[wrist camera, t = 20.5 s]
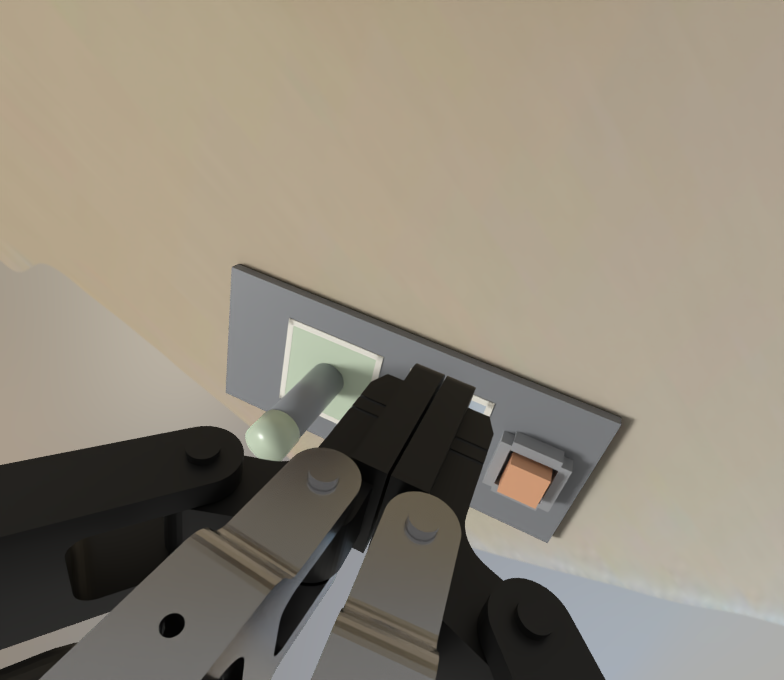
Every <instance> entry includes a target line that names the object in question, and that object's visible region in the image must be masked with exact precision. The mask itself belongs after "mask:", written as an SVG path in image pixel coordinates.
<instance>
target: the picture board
mask: <svg viewBox="0 0 784 680" xmlns="http://www.w3.org/2000/svg"><path fill="white" fill-rule="evenodd" d="M320 363H327V364H330V365H332V366H334V367H335V368H336V369H337V370H338V371H339V372H340V373H341V375H342V377H343V381H344V385H343V388H342V390H341V391H340V392H339V393H338V395H337V396H336V397H335V398H334V399H333V400H332V401H331V403H330V404H329V405H328V406H327V407H326V408H325V409H324V411H323V412H322V413H321V414H320V415H319V416H318V418H317V419H316V420H315V421H314V422H313V423H312V424H311V426H310V427H309V428H308V429H307V431H309V432H311V433H313V434H315V435H318V436H320V437H322V438H324V439H326V437H327V436H328V435H329V434H330V432H331V431H332V430H333V429H334V427H335V426H336V425H337V424H338V422H339V421H340V420H341V419H342V417H343V416H344V415H345V414H346V412H347V411H348V410H349V409H350V407H352V405H353V404H354V402H355V401H356V400H357V399H358V397H360V395H361V394H362V392H363V391H364V390H365V388H366V387H367V386H368V385H369V383H370V382H371V381H373V380H375V379H378V378H380V377H382V376H384V375H386V374H390V375H392V376H394V377H397V378H399V379H401V380H405V378H406V377H407V375H408V374H409V372H410V371H411V369H412V368H413V367H414V365H415V364H416V363H418V364H420V365H423V366H425V367H428V368H430V369H432V370H435V371H437V372H440V373H442V374H444V375H445V378H446V377H447V376H450V377H452V378H454V379H457V380H459V381H462V382H464V383H467V384H469V385H471V386H474V387H476V390H475V392H474V395H473V398H472V400H471V403H470V405H469V408H470V409H473V410H475V411H477V412H480V413H482V414H484V415H487V416H489V417H490V421H491V425H492V429H493V433H494V435H493V438H492V441H491V444H490V447H489V450H488V452H487V456H486V459H485V462H484V464H483V468H482V471H481V474H480V476H479V479H478V482H477V485H476V488H475V491H474V494H473V497H472V500H471V503H470V506H469V507H471V508H474V509H476V510H478V511H480V512H482V513H484V514H486V515H488V516H491V517H493V518H495V519H497V520H499V521H501V522H503V523H506V524H508V525H510V526H512V527H514V528H516V529H518V530H521V531H523V532H525V533H527V534H529V535H531V536H533V537H535V538H538V539H540V540H542V541H544V542H546V543H548V541H549V540H550V538H551V537H552V535H553V533H554V532H555V530H556V529H557V527H558V525H559V524H560V522H561V521H562V519H563V517H564V516H565V514H566V513H567V511H568V509H569V508H570V506H571V505H572V503H573V501H574V500H575V498H576V496H577V495H578V493H579V492H580V490H581V488H582V487H583V485H584V484H585V482H586V480H587V479H588V477H589V476H590V474H591V472H592V471H593V469H594V468H595V466H596V464H597V463H598V461H599V460H600V458H601V456H602V455H603V453H604V452H605V450H606V448H607V447H608V445H609V444H610V442H611V440H612V439H613V437H614V436H615V434H616V432H617V431H618V429H619V428H620V426H621V417H618V416H616V415H613V414H611V413H608V412H606V411H603V410H601V409H598V408H596V407H593V406H591V405H588V404H586V403H583V402H581V401H578V400H576V399H573V398H571V397H568V396H566V395H563V394H561V393H558V392H556V391H553V390H551V389H548V388H546V387H543V386H541V385H538V384H536V383H533V382H531V381H529V380H526V379H524V378H521V377H519V376H516V375H514V374H511V373H509V372H506V371H504V370H501V369H499V368H496V367H494V366H491V365H489V364H486V363H484V362H481V361H479V360H476V359H474V358H471V357H469V356H466V355H464V354H461V353H459V352H456V351H454V350H451V349H449V348H446V347H444V346H441V345H439V344H436V343H434V342H431V341H429V340H426V339H424V338H421V337H419V336H416V335H414V334H411V333H409V332H406V331H404V330H401V329H399V328H396V327H394V326H391V325H389V324H386V323H384V322H382V321H379V320H377V319H374V318H372V317H369V316H367V315H364V314H362V313H359V312H357V311H354V310H352V309H349V308H347V307H344V306H342V305H339V304H337V303H334V302H332V301H329V300H327V299H324V298H322V297H319V296H317V295H314V294H312V293H309V292H307V291H304V290H302V289H299V288H297V287H294V286H292V285H289V284H287V283H284V282H282V281H279V280H277V279H274V278H272V277H269V276H267V275H264V274H262V273H259V272H257V271H254V270H252V269H249V268H247V267H244V266H242V265H239V264H237V265H235V266H233V267H232V274H231V295H230V315H229V336H228V357H227V377H226V393H228V394H230V395H232V396H234V397H236V398H239V399H241V400H243V401H245V402H247V403H249V404H251V405H253V406H256V407H258V408H260V409H262V410H264V411H266V412H267V411H269V410H270V409H271V408H272V407H273V406H274V405H275V404H276V403H277V402H278V401H279V400H280V399H282V398H283V397H284V396H285V395H286V394H287V393H288V392H289V391H290V390H291V389H292V388H293V387H294V386H295V385H296V384H297V383H298V382H299V381H300V380H301V379H302V378H303V377H304V376H305V375H306V374H307V373H308V372H309V371H310V370H311V369H313V368H314V367H315V366H316V365H317V364H320ZM445 378H444V380H445ZM512 452H516V453H518V454H520V455H523V456H525V457H527V458H529V459H532V460H534V461H536V462H539V463H541V464H543V465H546V466H548V467H550V468H552V469H553V471H552V477H551V482H550V484H549V486H548V488H547V489H546V491H545V493H544V495H543V496H542V498H541V500H540V502H539V503H538V505H537V507H536V509H534V508H532V507H530V506H528V505H526V504H523V503H521V502H519V501H517V500H515V499H512V498H510V497H508V496H506V495H504V494H501V493H499V492H497V489H498V486H499V482H500V479H501V475H502V473H503V471H504V469H505V466H506V464H507V462H508V460H509V458H510V456H511V454H512Z"/></svg>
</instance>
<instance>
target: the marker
mask: <svg viewBox="0 0 784 680" xmlns="http://www.w3.org/2000/svg"><path fill="white" fill-rule="evenodd" d="M343 385H344V381H343V377H342V375H341V373H340V372H339V371H338V370H337V369H336V368H335V367H334V366H332V365H330V364H327V363H320V364H317V365H316V366H315V367H314V368H313V369H311V370H310V371H309V372H308V373H307V374H306V375H305V376H304V377H303V378H302V379H301V380H300V381H299V382H298V383H297V384H296V385H295V386H294V387H293V388H292V389H291V390H290V391H289V392H288V393H287V394H286V395H285V396H284V397H283V398H282V399H280V400H279V401H278V402H277V403H276V404H275V405H274V406H273V407H272V408H271V409H270V410H269V411H267V412H265V413H264V414H263V415H262V416H261V417H260V418H259V419H258V420H257V421H256V422H255V423H254V424H253V425H252V426H251V427H250V428H249V429H248V430H247V432H246V437H245V438H246V443H247V445H248V447H249V449H250V450H251V451H252V453H253V454H254V455H255V456H257V457H258V458H260V459H266V460H271V461H282V460H283V458H284V457H285V456H286V455H287V454H288V453H289V452H290V450H291V449H292V448H293V447H294V446H295V445H296V443H297V442H298V441H299V438H300V437H301V436H302V435H303V434H304V432H305V431H306V430H307V429H308V428H309V427H310V426H311V424H312V423H313V422H314V421H315V420H316V419H317V418H318V416H319V415H320V414H321V413H322V412H323V411H324V409H325V408H326V407H327V406H328V405H329V404H330V403H331V401H332V400H333V399H334V398H335V397H336V396H337V395H338V393H339V392H340V391H341V390H342V388H343Z"/></svg>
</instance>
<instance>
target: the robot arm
mask: <svg viewBox="0 0 784 680" xmlns="http://www.w3.org/2000/svg"><path fill="white" fill-rule="evenodd" d="M444 378H445V375H444V374H442V373H440V372H437V371H435V370H432V369H430V368H428V367H425V366H423V365H420V364H418V363H416V364H415V365H414V367H413V368H412V369H411V371H410V372H409V374H408V375H407V377H406V378H405V380H401V379H399V378H397V377H394V376H392V375H390V374H386V375H384V376H382V377H380V378H378V379H375V380H373V381H371V382H370V383H369V385H368V386H367V387H366V388H365V390H364V391H363V392H362V394H361V395H360V397H358V399H357V400H356V401H355V402H354V404H353V405H352V407H350V409H349V410H348V411H347V412H346V414H345V415H344V416H343V417H342V419H341V420H340V421H339V422H338V424H337V425H336V426H335V427H334V429H333V430H332V431H331V432H330V434H329V435H328V436H327V437H326V439H325V440H324V441H323V442H322V444H321V445H320V446H319V447H318V448H311V449H307V450H304V451H302V452H300V453H298V454H297V455H295V456H294V457H293V458H292V459H291V460H290V461H271V460H266V459H260V458H254V457H249V456H244V450H243V446H242V444H241V442H240V440H239V439H238V438H237V437H236V436H235V435H234V434H232V433H231V432H229V431H227V430H225V429H222V428H218V427H212V426H200V427H194V428H188V429H183V430H178V431H173V432H168V433H162V434H157V435H152V436H147V437H142V438H137V439H132V440H127V441H121V442H116V443H111V444H106V445H101V446H96V447H91V448H86V449H80V450H76V451H71V452H65V453H60V454H55V455H50V456H45V457H39V458H35V459H29V460H24V461H19V462H14V463H9V464H4V465H0V650H1V649H4V648H7V647H10V646H13V645H16V644H19V643H21V642H24V641H27V640H30V639H33V638H36V637H39V636H42V635H45V634H47V633H50V632H53V631H56V630H59V629H61V628H64V627H67V626H70V625H73V624H76V623H79V622H82V621H85V620H88V619H90V618H93V617H96V616H99V615H102V614H104V613H107V612H110V613H109V614H108V615H106V616H105V617H104V619H102V620H101V621H100V622H99V623H98V624H97V625H96V626H95V627H94V628H93V629H92V630H91V631H90V632H89V633H87V634H86V635H85V637H83V638H82V639H81V640H80V641H79V642H78V643H73V644H69V645H66V646H62V647H59V648H54V649H52V650H49V651H46V652H44V653H41V654H38V655H36V656H33V657H31V658H28V659H26V660H23V661H21V662H18V663H16V664H13V665H11V666H8V667H5V668H3V669H0V680H271V678H272V676H273V674H274V672H275V670H276V669H277V667H278V665H279V664H280V662H281V660H282V659H283V657H284V656H285V654H286V653H287V651H288V650H289V648H290V647H291V645H292V644H293V642H294V641H295V639H296V638H297V636H298V635H299V633H300V632H301V630H302V629H303V627H304V626H305V624H306V623H307V621H308V620H309V618H310V617H311V615H312V614H313V612H314V611H315V609H316V607H317V606H318V604H319V603H320V602H321V600H322V599H323V597H324V596H325V594H326V592H327V591H328V590H329V588H330V586H331V585H332V583H333V582H334V580H335V578H336V575H337V572H338V570H339V569H340V568H341V566H342V564H343V563H344V561H345V559H346V557H347V555H348V554H349V552H350V550H351V548H354V549H356V550H358V551H360V552H362V553H364V551H365V549H366V547H367V545H368V543H369V541H370V539H371V541H370V544H369V548H368V551H367V553H366V556H365V558H364V561H363V563H362V566H361V568H360V570H359V573H358V575H357V578H356V580H355V582H354V585H353V587H352V589H351V592H350V594H349V597H348V599H347V601H346V604H345V606H344V608H342V609H341V611H340V613H339V615H338V617H337V619H336V622H335V624H334V626H333V628H332V631H331V633H330V636H329V638H328V640H327V643H326V645H325V647H324V650H323V652H322V654H321V657H320V659H319V662H318V664H317V666H316V669H315V671H314V673H313V676H312V678H311V680H605V678H604V676H603V674H602V673H601V671H600V669H599V667H598V665H597V663H596V662H595V660H594V658H593V656H592V654H591V653H590V651H589V649H588V647H587V645H586V643H585V641H584V640H583V638H582V636H581V634H580V632H579V631H578V629H577V627H576V625H575V623H574V621H573V620H572V618H571V616H570V614H569V613H568V611H567V609H566V608H565V606H564V605H563V604H562V602H561V601H560V600H559V599H558V598H557V597H556V596H555V595H554V594H553V593H552V592H551V591H549V590H548V589H547V588H545V587H543V586H542V585H540V584H538V583H536V582H533V581H531V580H527V579H522V578H511V579H507V580H504V581H503V580H502V579H501V578H499V577H498V576H497V575H496V574H495V573H494V572H493V571H492V570H490V569H489V568H488V567H487V566H486V565H485V564H484V563H483V562H482V561H481V560H480V559H479V558H478V557H477V556H476V554H475V553H474V551H473V549H472V548H471V546H470V544H469V542H468V539H467V536H466V532H465V519H466V515H467V512H468V509H469V506H470V503H471V500H472V497H473V494H474V491H475V488H476V485H477V482H478V479H479V476H480V474H481V471H482V468H483V464H484V462H485V459H486V456H487V452H488V450H489V447H490V444H491V441H492V438H493V435H494V433H493V429H492V425H491V421H490V417H489V416H487V415H484V414H482V413H480V412H477V411H475V410H473V409H470V408H469V405H470V403H471V400H472V398H473V395H474V392H475V390H476V387H474V386H471V385H469V384H467V383H464V382H462V381H459V380H457V379H454V378H452V377H450V376H447V377H446V378H445V380H444ZM371 537H372V538H371Z"/></svg>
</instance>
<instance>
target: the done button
mask: <svg viewBox="0 0 784 680" xmlns="http://www.w3.org/2000/svg"><path fill="white" fill-rule="evenodd" d="M552 471H553V469H552V468H550V467H548V466H546V465H543V464H541V463H539V462H536V461H534V460H532V459H529V458H527V457H525V456H523V455H520V454H518V453H516V452H512V454H511V456H510V458H509V460H508V462H507V464H506V466H505V469H504V471H503V473H502V475H501V479H500V482H499V486H498V489H497V492H499V493H501V494H504V495H506V496H508V497H510V498H512V499H515V500H517V501H519V502H521V503H523V504H526V505H528V506H530V507H532V508H534V509H536V507H537V505H538V503H539V502H540V500H541V498H542V496H543V495H544V493H545V491H546V489H547V488H548V486H549V484H550V482H551V477H552Z"/></svg>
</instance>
